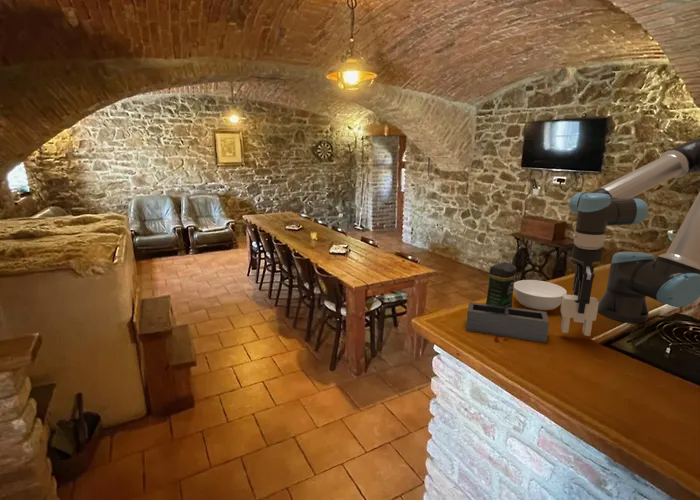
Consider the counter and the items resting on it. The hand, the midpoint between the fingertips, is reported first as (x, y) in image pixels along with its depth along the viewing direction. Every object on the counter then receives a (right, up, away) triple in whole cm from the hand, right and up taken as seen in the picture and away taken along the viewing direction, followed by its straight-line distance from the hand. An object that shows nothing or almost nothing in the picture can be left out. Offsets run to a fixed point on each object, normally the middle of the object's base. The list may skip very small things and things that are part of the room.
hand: (577, 318), depth 118 cm
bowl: (+1, 0, +27) cm, 27 cm away
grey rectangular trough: (-20, -5, +7) cm, 22 cm away
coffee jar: (-16, -2, +22) cm, 27 cm away
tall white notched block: (0, -5, +1) cm, 5 cm away
